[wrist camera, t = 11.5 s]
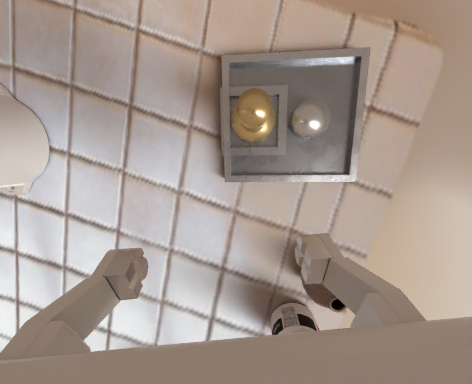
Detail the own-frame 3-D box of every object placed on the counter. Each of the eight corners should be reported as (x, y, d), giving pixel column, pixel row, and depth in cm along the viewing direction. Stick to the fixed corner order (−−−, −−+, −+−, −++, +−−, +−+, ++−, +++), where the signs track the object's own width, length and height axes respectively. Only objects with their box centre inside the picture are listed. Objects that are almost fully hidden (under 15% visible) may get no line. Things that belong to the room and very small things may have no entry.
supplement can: (322, 321, 37) (370, 433, 22) (287, 342, 38) (311, 460, 24) (295, 292, 36) (326, 388, 21) (261, 315, 37) (268, 419, 23)
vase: (302, 288, 36) (319, 330, 27) (292, 255, 35) (306, 289, 26) (340, 279, 35) (369, 320, 26) (331, 245, 34) (359, 277, 25)
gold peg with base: (233, 143, 30) (225, 138, 20) (233, 102, 29) (224, 76, 19) (272, 142, 30) (282, 136, 20) (273, 100, 29) (284, 73, 19)
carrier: (224, 180, 33) (220, 183, 29) (220, 62, 29) (216, 50, 26) (348, 179, 31) (361, 182, 28) (361, 55, 28) (377, 41, 24)
